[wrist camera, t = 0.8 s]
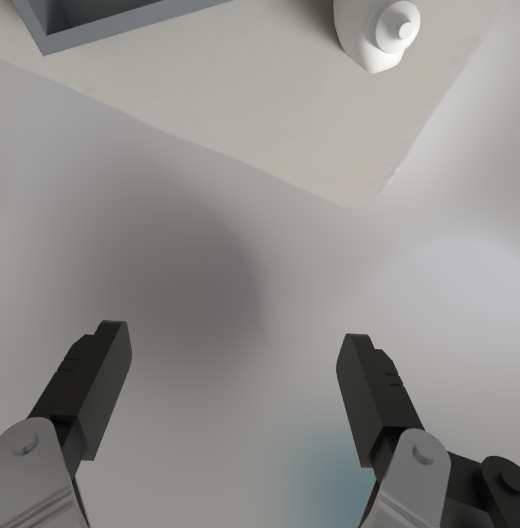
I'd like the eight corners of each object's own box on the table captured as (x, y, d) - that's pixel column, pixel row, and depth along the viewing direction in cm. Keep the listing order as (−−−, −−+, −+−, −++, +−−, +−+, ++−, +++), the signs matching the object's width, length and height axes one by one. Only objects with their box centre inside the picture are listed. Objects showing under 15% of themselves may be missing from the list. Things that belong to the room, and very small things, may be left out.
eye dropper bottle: (397, -27, 24) (479, -33, 15) (367, 60, 28) (418, 98, 19) (340, -42, 23) (390, -57, 14) (318, 49, 27) (345, 83, 18)
